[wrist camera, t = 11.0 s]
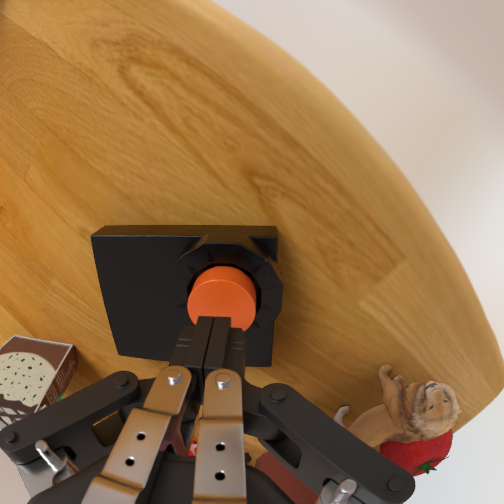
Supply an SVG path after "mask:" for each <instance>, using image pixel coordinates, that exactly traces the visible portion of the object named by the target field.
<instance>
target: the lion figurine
mask: <svg viewBox="0 0 504 504" xmlns="http://www.w3.org/2000/svg"><path fill="white" fill-rule="evenodd" d="M390 372H391V365H388V364H386V365H382V366H381V367H380V369H379V371H378V376H379V381H380V382H381V384H382V387H383V393H384V396H383V402H384V403H383V404H380V405H378V406H376V407H373V408H371V409H369V410H367V411H366V412H364V413H363V414H361V415H360V416H359V417H358V418H357V419H356V420H355V421H354V422H353V423H352V424H351V426H350V427H346V426H345V425H344V424H343V422H342V418H343V416H344V415H346V414H348V413H349V412H350V407H349V406H344V407H341V408H340V409H339V410H338V412H337V413H336V415H335V417H334V419H333V420H334V421H336V422H337V423H338V424H340V425H341V426H342V427H344V428H345V429H346V430H348V431H349V432H351V433H352V434H353V435H355V436H356V437H358V438H359V439H360V440H362V441H363V442H365V443H366V444H367V445H369V446H370V447H372V448H373V447H375V446H377V445H379V444H381V443H383V442H386V441H398V442H401V443H409V442H413V441H419V440H420V439H423V440H424V441H427V440H429V439H433V438H436V437H440V436H441V435H442V434H444V433H447V432H448V431H449V430H450V429H452V428H453V427H454V426H455V424H456V422H457V420H458V417H459V416H458V415H459V414H460V413H461V412H462V409H461V408H460V406H459V405H458V401H457V400H456V395H455V393H454V391H453V389H452V387H450V386H448V385H447V384H444V383H437V382H434V381H429V382H428V383H425V384H421V383H419V382H415V383H412V384H409V385H408V386H407V387H405V388H402V386H401V384H402V382H403V380H404V377H403V376H402V375H398V376H396V377H395V378H394V379H393V381H392V380H391V379H390V377H389V373H390ZM314 406H315V405H314Z"/></svg>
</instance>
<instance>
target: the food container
mask: <svg viewBox="0 0 504 504" xmlns="http://www.w3.org/2000/svg"><path fill="white" fill-rule="evenodd" d="M76 367H77V354H76V350H75V348H74V345H73V344H66V343H60V342H53V341H47V340H41V339H36V338H30V337H25V336H20V335H14V336H12V337H11V338H10V339H9V340H8V341H7V342H6V343H5V344H4V345H3V346H2V347H1V348H0V428H1V429H3V428H4V427H5V426H7V425H10V424H12V423H14V422H16V421H18V420H20V419H23V418H25V417H27V416H29V415H31V414H33V413H35V412H37V411H40V410H42V409H44V408H46V407H48V406H50V405H52V404H54V403H56V402H58V401H60V400H61V398H62V396H63V394H64V392H65V390H66V388H67V386H68V384H69V382H70V380H71V378H72V376H73V374H74V372H75V370H76Z"/></svg>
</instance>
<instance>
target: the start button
mask: <svg viewBox="0 0 504 504" xmlns="http://www.w3.org/2000/svg"><path fill="white" fill-rule="evenodd" d="M187 308H188V313H189V316H190V318H191V320H192V322H193V323H194V324H195V325H196V322H197V319H198V316H214V317H215V316H220V317H231V327H232V328H242V330H243V331H246V330H247V329H248V328H249V327H250V326H251V324H252V323H253V321H254V318H255V314H256V289H255V286H254V284H253V282H252V280H251V279H250V278H249V277H248V276H247V275H246V274H245V273H244V272H242V271H241V270H239V269H237V268H234V267H230V266H215V267H212V268H209V269H207V270H205V271H204V272H203V273H201V274H200V275H199V277H198V278H197V280H196V282H195V284H194V286H193V289H192V291H191V294H190V296H189V299H188V304H187Z"/></svg>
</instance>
